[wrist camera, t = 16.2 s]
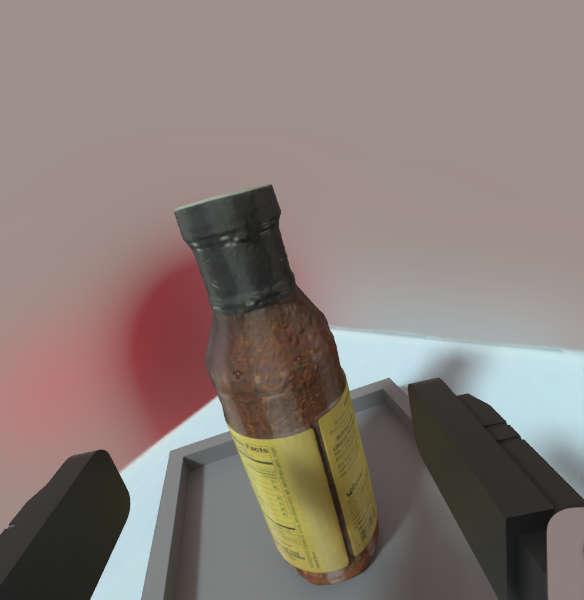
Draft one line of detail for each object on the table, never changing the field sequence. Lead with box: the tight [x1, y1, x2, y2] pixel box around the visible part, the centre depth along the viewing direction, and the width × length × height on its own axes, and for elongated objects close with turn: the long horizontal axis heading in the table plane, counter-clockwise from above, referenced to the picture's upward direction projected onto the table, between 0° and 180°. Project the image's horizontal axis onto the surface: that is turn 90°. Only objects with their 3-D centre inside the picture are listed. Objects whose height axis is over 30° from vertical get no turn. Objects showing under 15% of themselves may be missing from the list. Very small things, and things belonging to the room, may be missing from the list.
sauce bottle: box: [175, 184, 379, 586], centre depth 16 cm, size 6×6×20 cm
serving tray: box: [141, 378, 498, 600], centre depth 19 cm, size 20×20×2 cm
